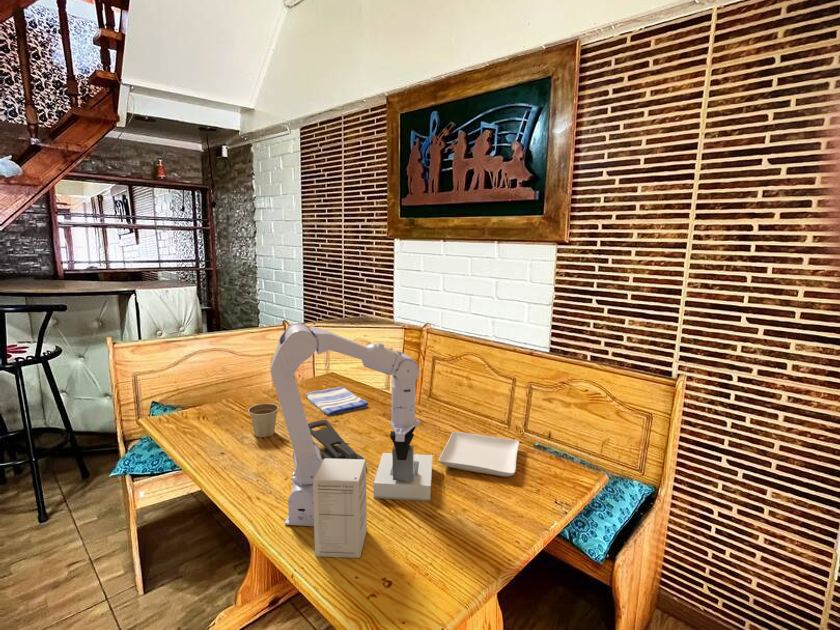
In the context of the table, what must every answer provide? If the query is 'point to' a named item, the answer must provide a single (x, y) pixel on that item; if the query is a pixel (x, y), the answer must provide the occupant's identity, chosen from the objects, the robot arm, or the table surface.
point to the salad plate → (480, 454)
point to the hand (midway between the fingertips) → (402, 456)
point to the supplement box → (340, 508)
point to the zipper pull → (332, 442)
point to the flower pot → (263, 419)
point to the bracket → (404, 466)
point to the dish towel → (336, 400)
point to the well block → (404, 489)
